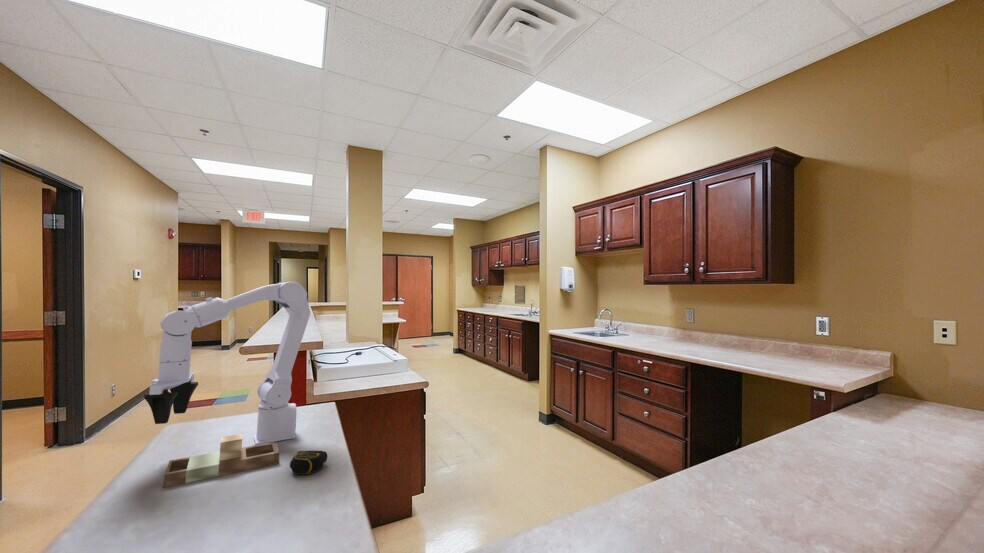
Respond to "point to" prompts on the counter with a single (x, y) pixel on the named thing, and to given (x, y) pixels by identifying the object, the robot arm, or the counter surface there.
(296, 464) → the tape measure
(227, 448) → the beech block
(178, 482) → the frame
